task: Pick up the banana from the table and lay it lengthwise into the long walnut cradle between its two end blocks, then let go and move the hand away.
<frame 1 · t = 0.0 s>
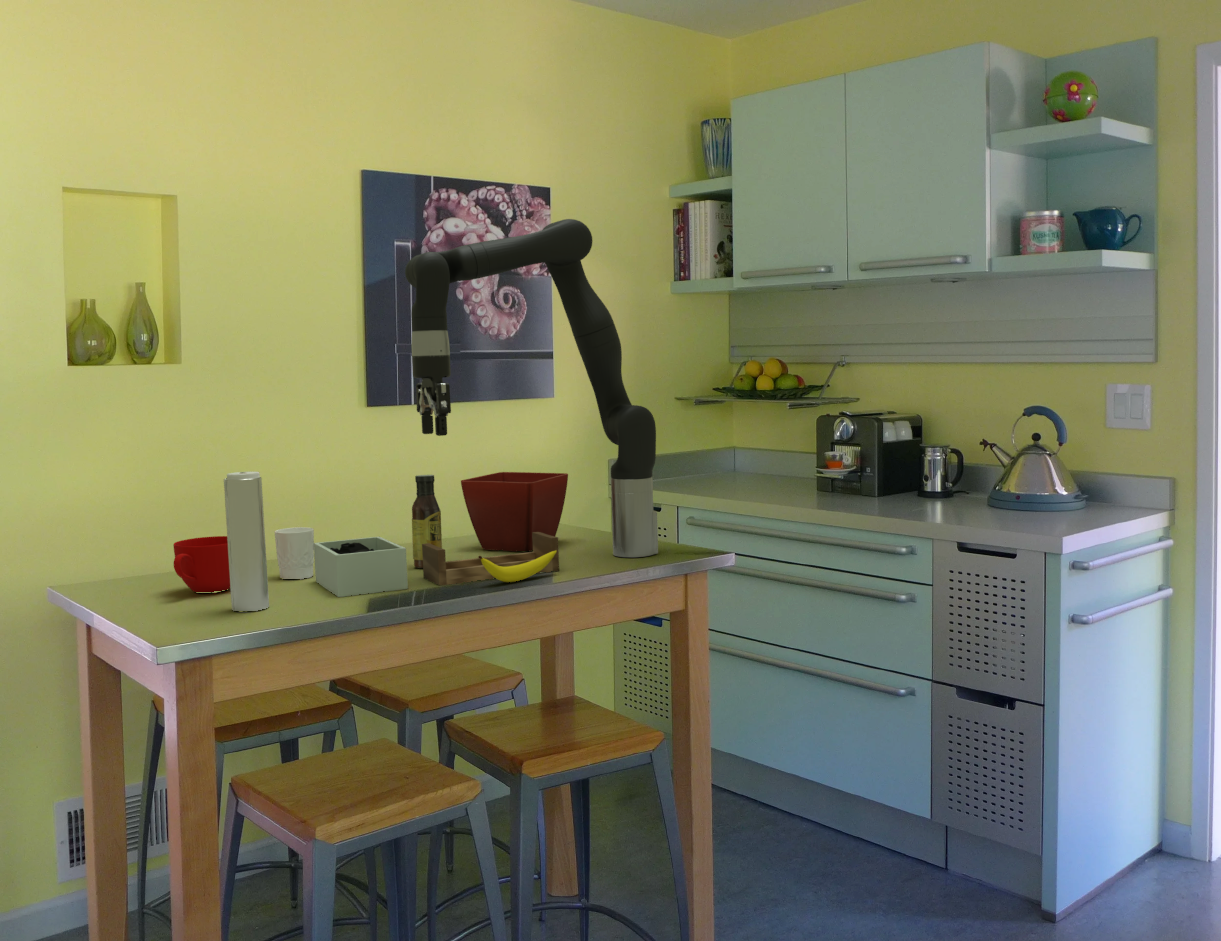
hand: (434, 434, 227), 29 cm above the table, tool pointing down, fingers open, 8 cm apart
white cup: (296, 578, 235), on the table
cradle: (491, 574, 232), on the table
camera caddy: (360, 585, 224), on the table
ceramic cup: (205, 593, 221), on the table
banana: (519, 582, 224), on the table
sauce bottle: (428, 567, 243), on the table
film camera: (364, 586, 224), resting in camera caddy
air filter: (250, 609, 205), on the table
plant pot: (518, 548, 266), on the table
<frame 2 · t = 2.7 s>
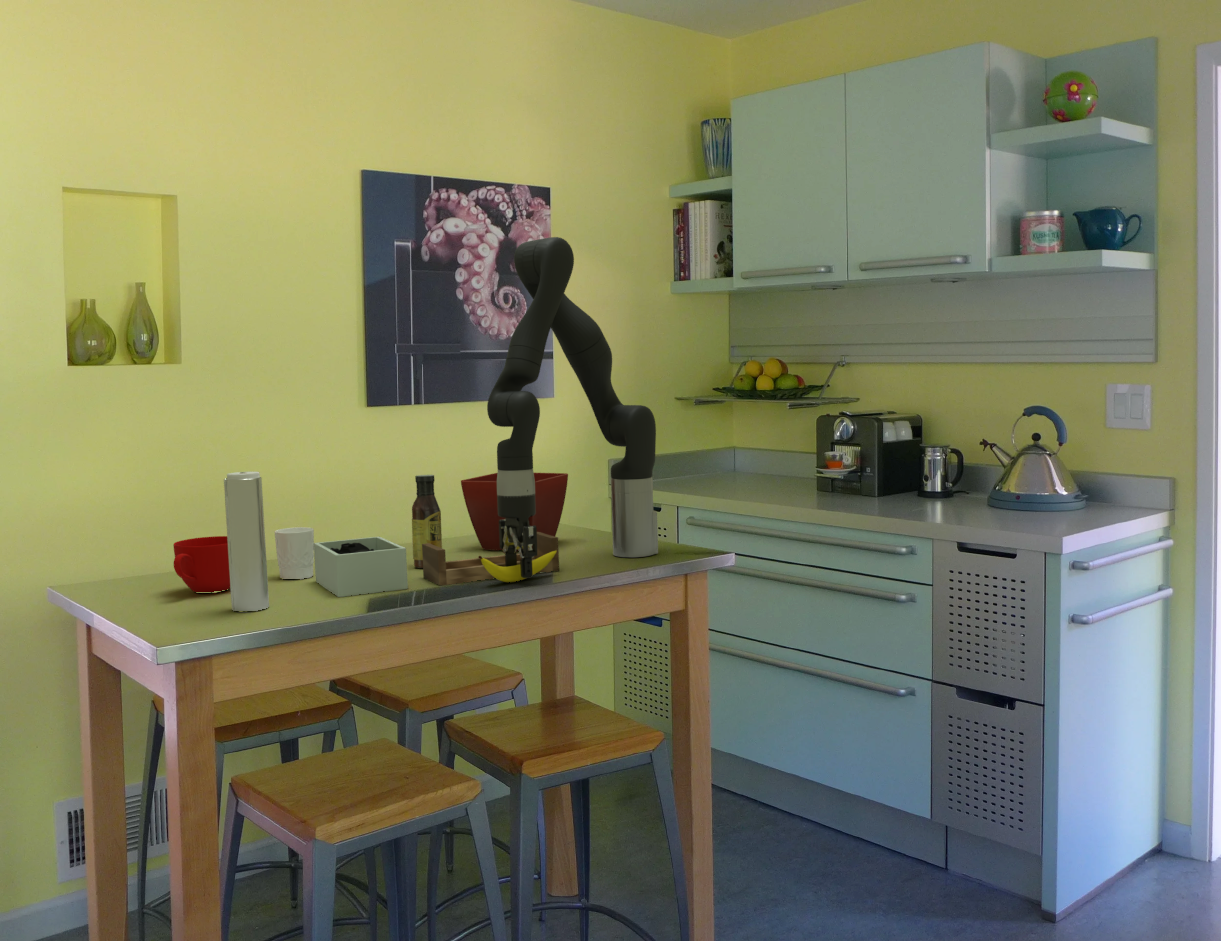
hand: (518, 574, 224), 1 cm above the table, tool pointing down, fingers open, 7 cm apart
film camera: (364, 587, 224), resting in camera caddy
everything else where it was.
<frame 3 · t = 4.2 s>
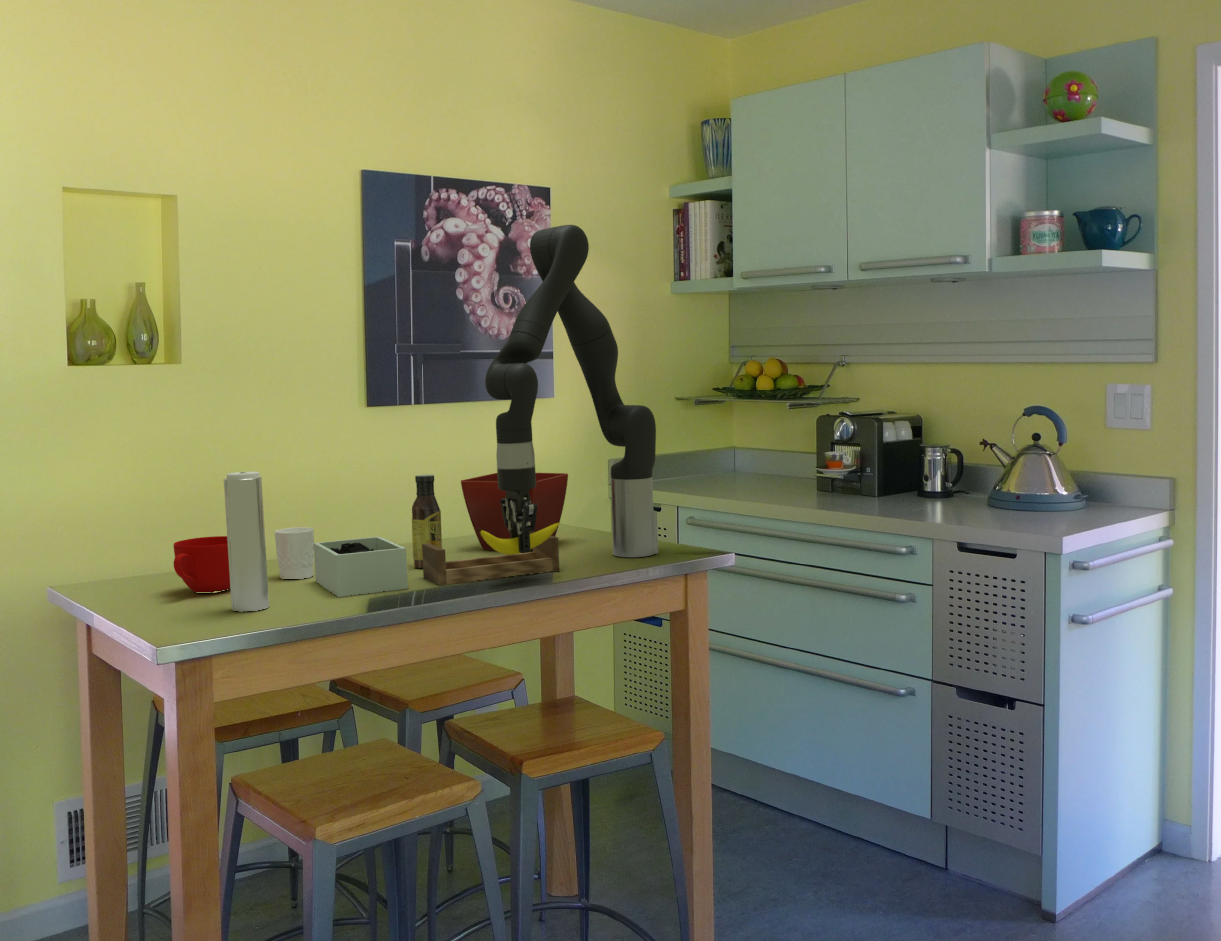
hand: (520, 550, 224), 6 cm above the table, tool pointing down, fingers closed on banana, 3 cm apart
banana: (521, 554, 224), point 5 cm above the table, touching gripper
everything else where it was.
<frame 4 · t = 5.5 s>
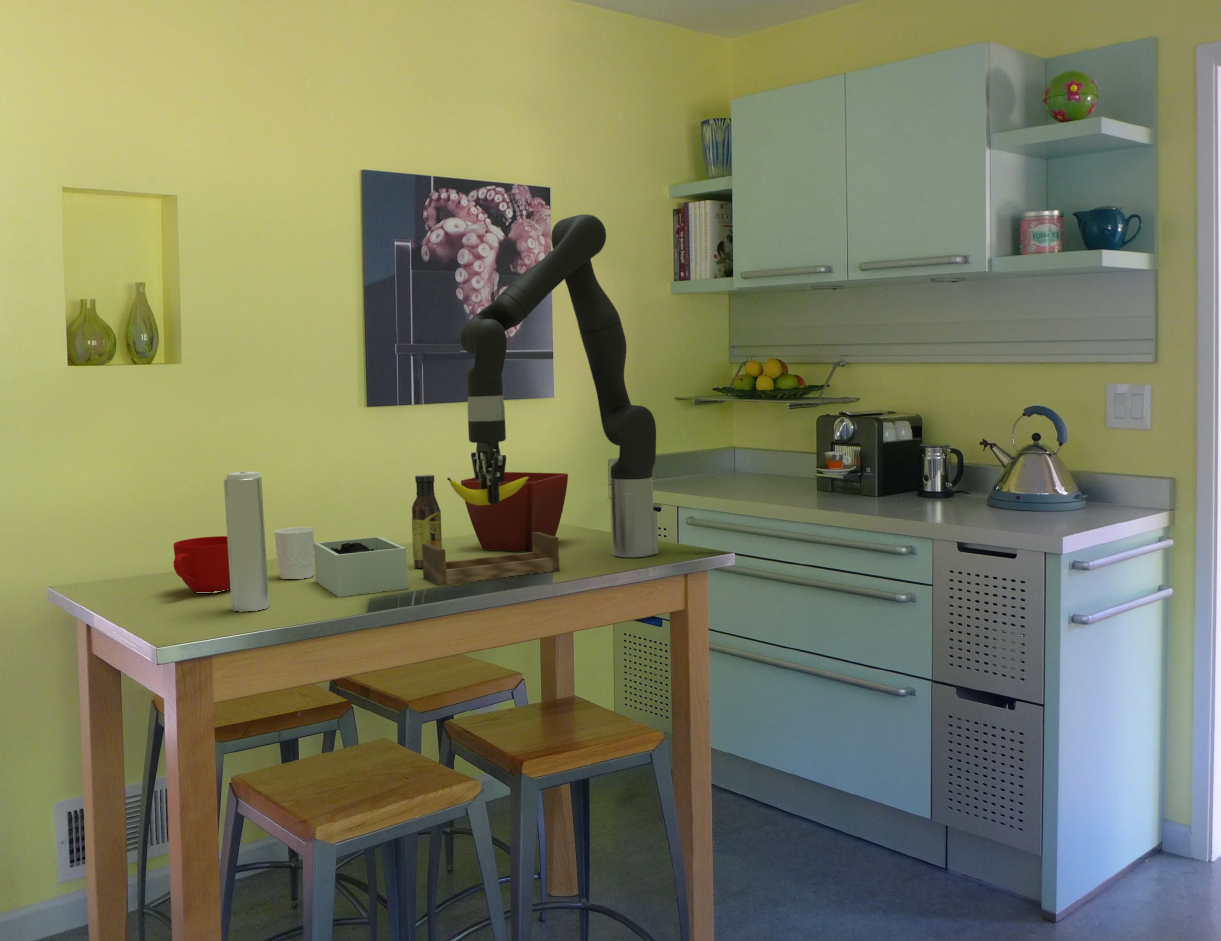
hand: (490, 502, 230), 15 cm above the table, tool pointing down, fingers closed on banana, 3 cm apart
banana: (490, 505, 230), point 14 cm above the table, touching gripper
everything else where it was.
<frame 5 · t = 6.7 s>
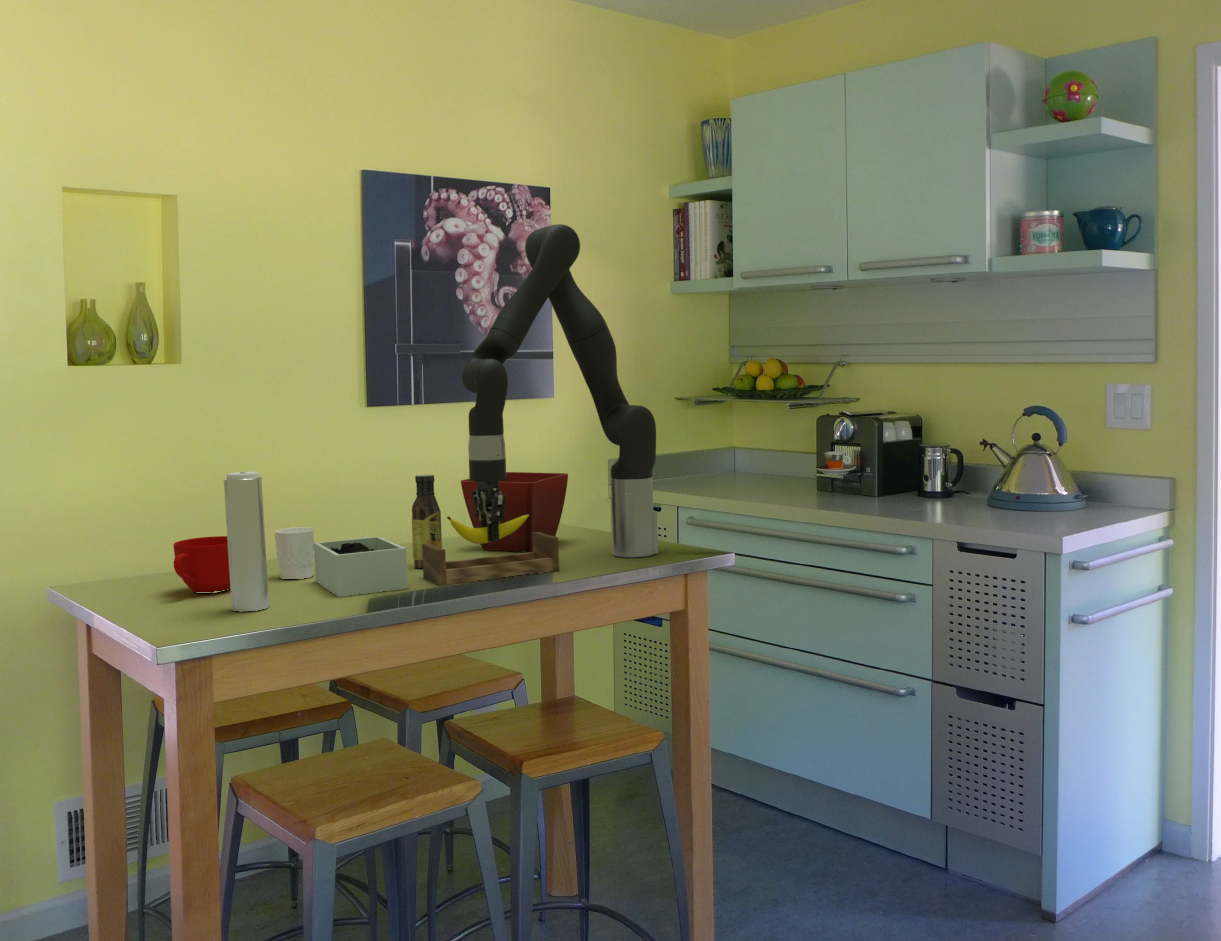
hand: (490, 540, 231), 7 cm above the table, tool pointing down, fingers closed on banana, 3 cm apart
banana: (490, 543, 231), point 6 cm above the table, touching gripper
everything else where it was.
when the fingers open (3 cm above the table, at t = 7.6 s): banana drops 2 cm, resting on cradle.
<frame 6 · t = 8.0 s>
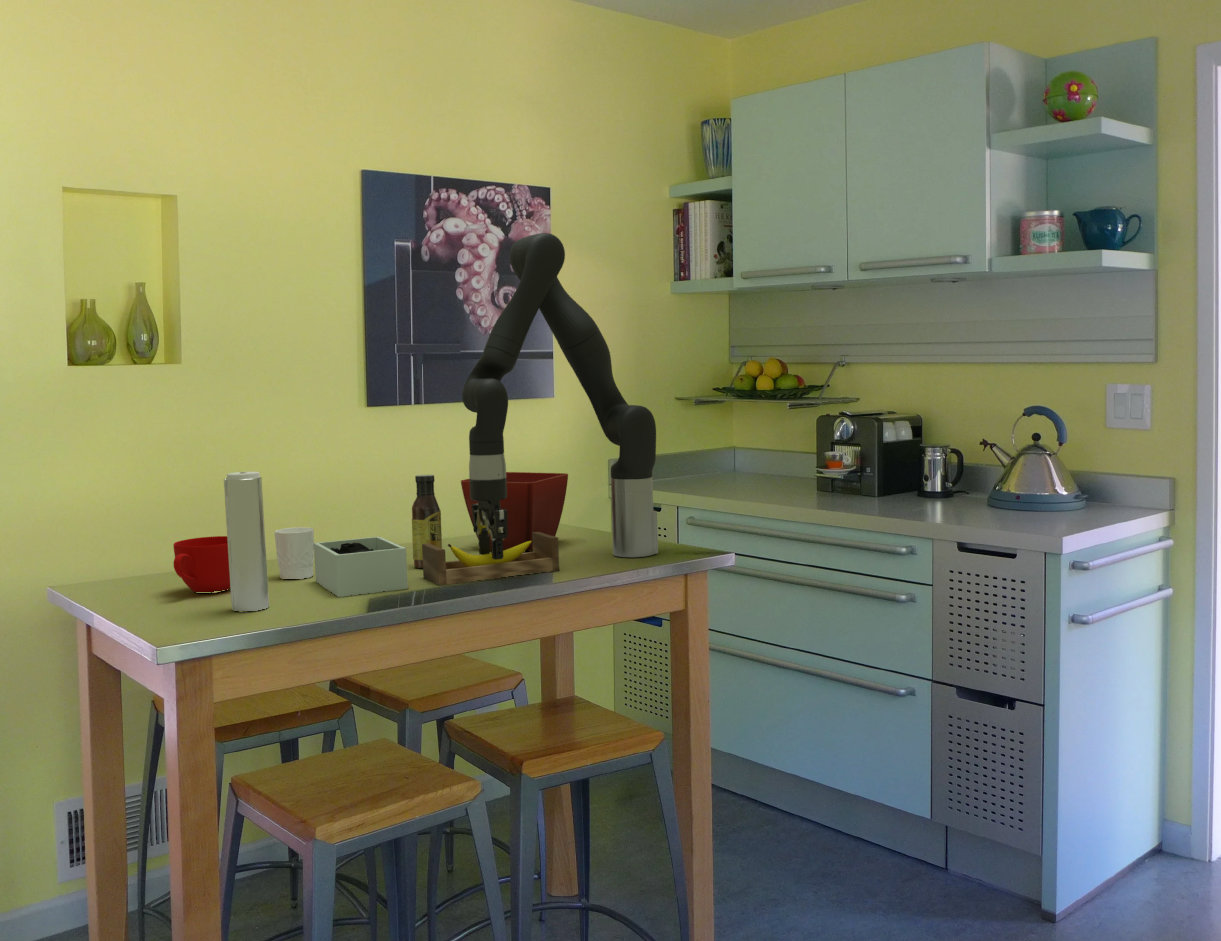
hand: (491, 556, 232), 4 cm above the table, tool pointing down, fingers open, 6 cm apart
banana: (491, 570, 232), point 1 cm above the table, touching cradle
everything else where it was.
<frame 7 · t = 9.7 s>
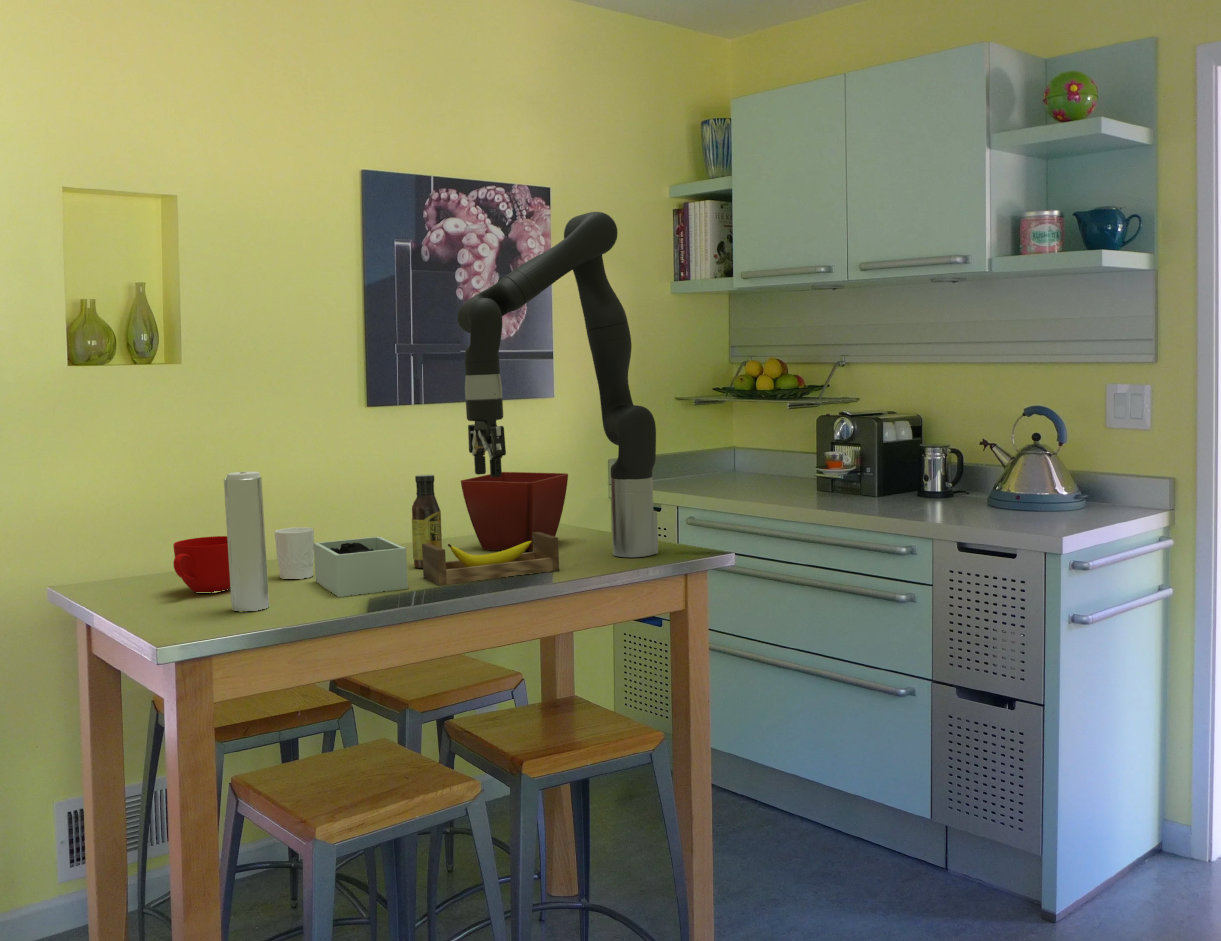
hand: (488, 475, 232), 20 cm above the table, tool pointing down, fingers open, 8 cm apart
nothing on the table moved.
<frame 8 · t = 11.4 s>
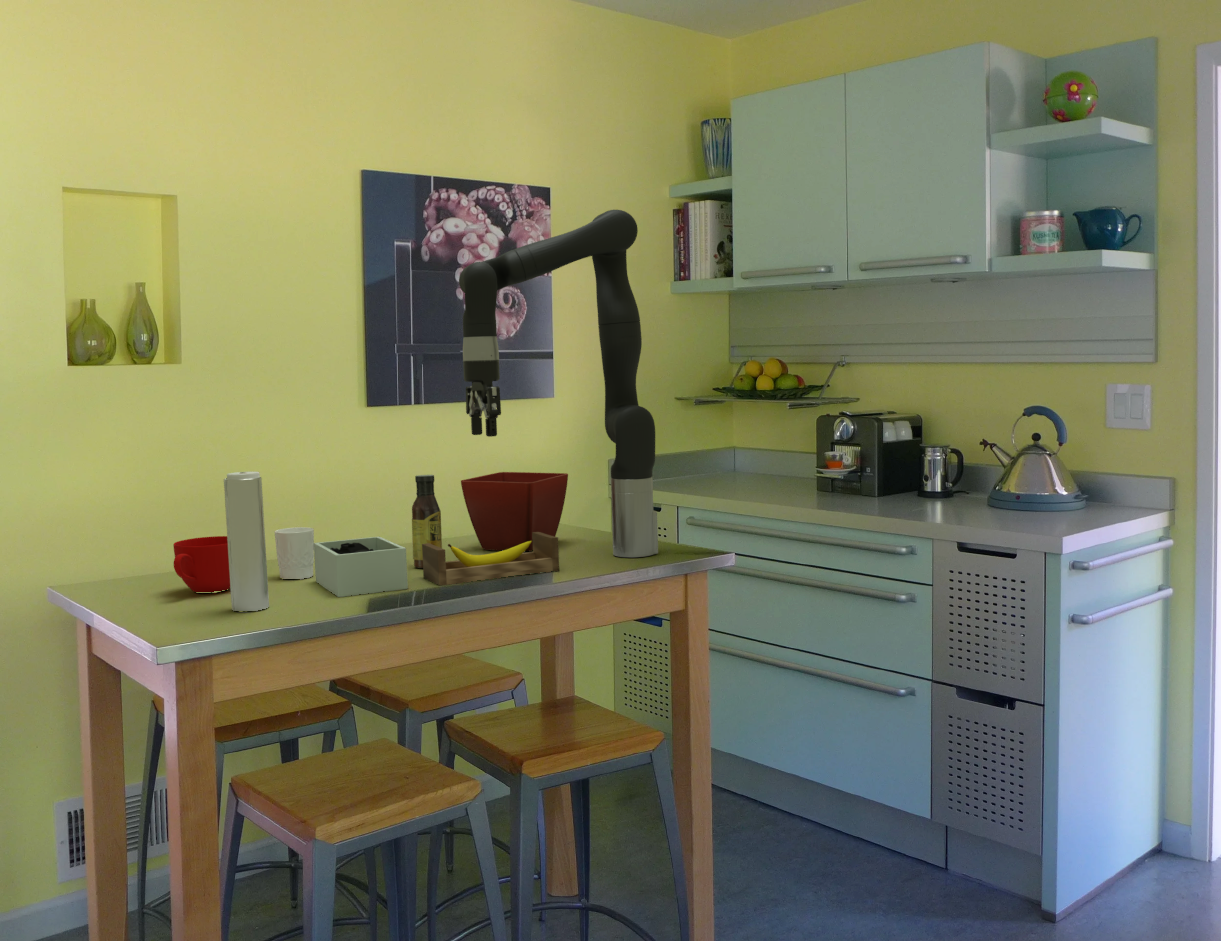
hand: (484, 435, 239), 28 cm above the table, tool pointing down, fingers open, 8 cm apart
nothing on the table moved.
at the end: banana inside the target area on the cradle (0.1 cm from its centre), point 0.8 cm above the cradle's base; the gripper is holding nothing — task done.
